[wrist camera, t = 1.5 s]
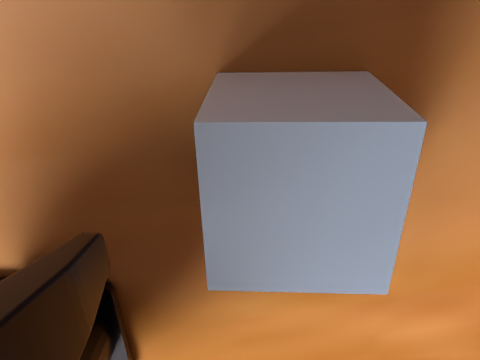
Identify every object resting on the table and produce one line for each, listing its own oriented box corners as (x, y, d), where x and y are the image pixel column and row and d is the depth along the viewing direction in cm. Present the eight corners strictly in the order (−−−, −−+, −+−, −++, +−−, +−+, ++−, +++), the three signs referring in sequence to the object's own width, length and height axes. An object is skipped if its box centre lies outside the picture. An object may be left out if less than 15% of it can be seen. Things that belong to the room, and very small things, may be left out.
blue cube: (349, 199, 15) (387, 294, 10) (223, 198, 15) (207, 290, 10) (367, 70, 12) (427, 121, 8) (217, 72, 12) (193, 122, 8)
